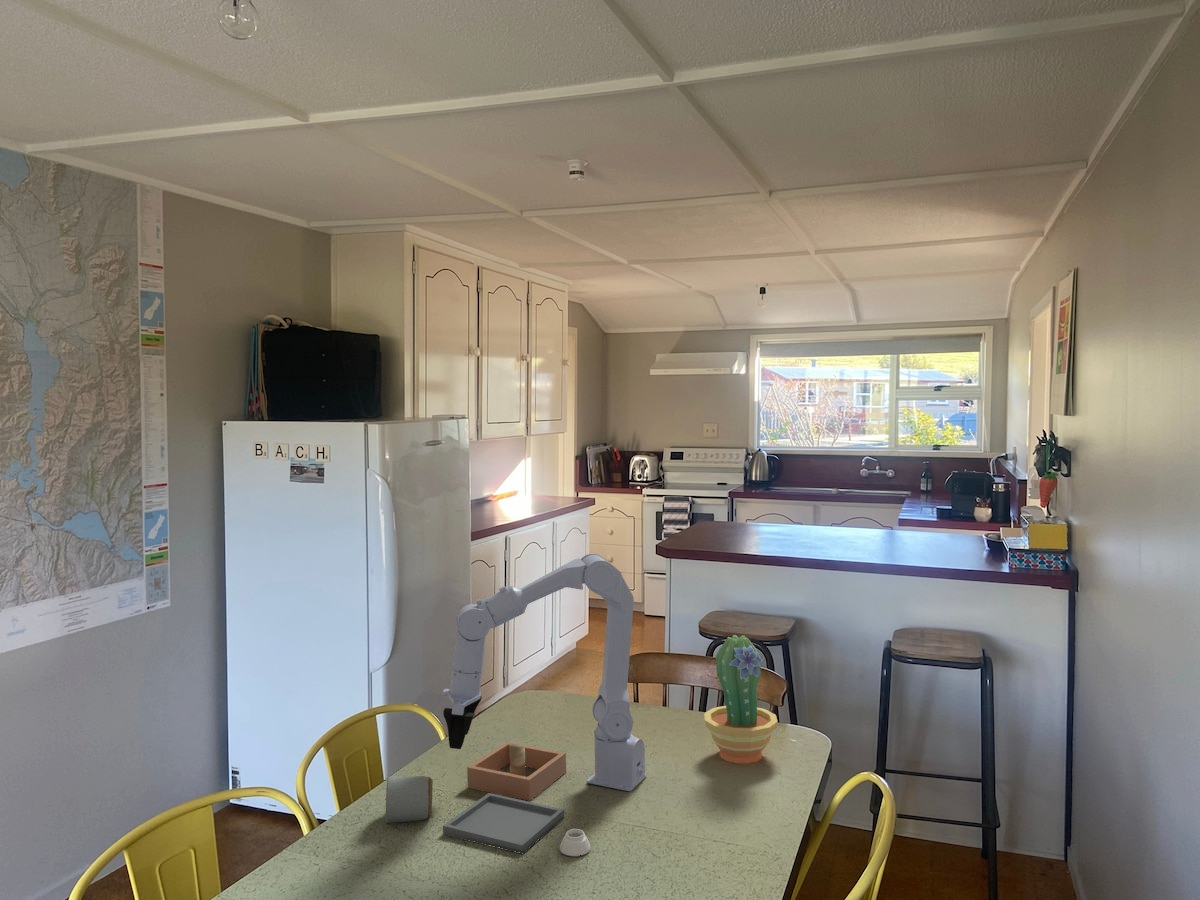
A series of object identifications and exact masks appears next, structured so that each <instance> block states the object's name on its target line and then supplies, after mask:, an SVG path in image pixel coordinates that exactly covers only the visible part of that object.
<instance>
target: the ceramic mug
mask: <svg viewBox="0 0 1200 900" xmlns="http://www.w3.org/2000/svg"><path fill="white" fill-rule="evenodd" d="M386 781H387V782H386V788H385V790H386V793H385V823H386V824H391V823H403V822H412V821H422V820H426V819H429V818H430V817H432V814H433V784H434V783H433V782H434V781H433V779H432V778H431V777H428V776H425V775H419V776H418V775H413V776H408V775H407V776H399V775H398V776H396V775H395V776H392V775H391V776H387V779H386Z"/></svg>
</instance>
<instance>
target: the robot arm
mask: <svg viewBox="0 0 1200 900" xmlns="http://www.w3.org/2000/svg"><path fill="white" fill-rule="evenodd" d="M583 585H585V586H586V587H587V589H589V591H590V592H591V593H594V594H596V595H598V596H599V597H601V598H602V599H603V600H604V601H605V602H606V604H607V608H606V609H607V611H606V624H605V625H606V626H605V638H604V647H603V648H604V649H603V650H604V651H603V662H602V663H603V665H602V676H601V677H602V678H601V683H600V684H599V685H600V686H599V688H598V694H597V697H596V699H595V701H594V703H593V706H592V710H591V711H592V716H593V717H594V720H595V721H596V722H597V725H596V728H595V729H594V732H593V733H594V737H593V738H594V739H593V740H594V741H593V742H594V774H593V775H591V776H590V777H589V778H588V779H587V780H586V783H587V784H591V785H596V786H600V787H606V788H610V789H611V788H612V789H615V790H621V791H626V792H632V791H633V790H634V789H635V788H636V786H638V785H639V784H640V783H641V782H642V781H643V780H644V779H645V778H646V777H647V773H646V768H645V767H646V765H645V764H646V763H645V762H646V758H645V757H646V756H645V751H646V750H645V743H644V740H643V739H642V738H638V737H637V736H634V735H633V734H632V730H633V727H634V720H633V716H632V714H631V711H630V705H631V704H630V702H631V701H630V698H629V697H630V696H629V691H628V682H629V681H628V680H629V667H630V654H631V644H632V643H631V642H632V641H631V640H632V631H633V630H632V628H633V617H634V616H633V615H634V603H635V600H634V599H635V598H634V595H633V593H632V591H631V589H630V587H629V586H628V584H627V583H626V581H625V579H624V577H623V574H622V572H621V571H620V570H619V569H618V568H617V567H615V566H614V565H613V564H612V563H611V562H609V561H608V560H607V559H606V558H605V557H603V556H602V555H600V554H597V553H588V554H585V555H583V556H582V557H581V558H580V557H578V558H576V559H573V560H570V561H568V562H566V564H563V565H562V566H559V567H558V568H556V569H554V570H552V571H550V572H548V573H547V574H544V575H543V576H540V577H539V578H538V579H535V580H534V581H532V582H530V583H528V584H526V585H525V586H523V587H516V586H513V585H510V586H508V587H506V586H505V585H503V586H501V587H499V588H498V590H499V591H498V592H496V593H494V594H492V595H490V596H487V597H486V598H484V599H482V598H479V599H476V600H475V603H474V604H473V603H471V604H469V603H468V604H466V605H464V606H463V607H462V608H461V609H460V611H459V612H458V614H457V616H456V618H455V621H456V624H457V628H458V630H457V633H456V636H455V641H456V642H455V643H454V651H453V655H452V657H453V658H452V667H451V674H450V683H449V688H444V689H443V690H442V695H443V696H447V697H448V698H449V700H450V702H451V704H452V707H451V708H450V707H444V708H443V712H442V713H443V718H444V720H445V723H446V727H447V735H448V745H449V748H450V749H456V750H461V749H462V747H463V745H464V742H465V738H466V735H468V733H469V731H470V728H471V725H472V721H473V718H474V717H475V714H476V713H475V712H476V709H477V707H478V705H479V704H480V702H481V701H482V699H483V697H482V695H481V694H482V693H481V687H482V686H481V685H482V678H483V670H484V661H485V660H484V659H485V653H486V645H485V641H486V636H487V635H488V634H489V631H490V629H495V628H497V627H499V626H501V625H504V624H505V623H507V622H510V621H511V620H513V619H515V618H518V617H519V616H522V615H523V614H525V613H526V609H527V607H528V606H529V604H531V603H533V602H536V601H538V600H540V599H542V598H545V597H547V596H549V595H551V594H553V593H556V592H558V591H561V590H563V589H565V588H568V589H574V590H575V589H576V590H584V586H583Z"/></svg>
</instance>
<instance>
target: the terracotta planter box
mask: <svg viewBox="0 0 1200 900" xmlns="http://www.w3.org/2000/svg"><path fill="white" fill-rule="evenodd" d="M511 743H512V742H508V741H506V742H504V743H503V744H501V745H499V746H498V747H497V748H495V749H493V750H492V751H490V752H489V753H487V754H486V755H484V756H482V757H481V758H479V759H478V760H476V761H475V762H472V763H471V764H470V765H469V766H468V765H467V769H466V775H467V777H466V778H467V779H466V780H467V788H468V787H469V788H468V789H471V788H473V789H472V790H476V789H477V791H480V790H482V792H485V791H486V793H489V792H491V793H492V794H496V795H501V796H503V795H505V797H510V798H512V797H513V798H514V799H517V798H518V799H519V800H522V799H523V800H524V801H526V800H527V801H528V802H532V801H533V799H535V798H536V797H537V796H538V795H540V794H541V793H542V792H543V790H544V791H546V790H547V788H549V787H550V786H552V785H553V782H554V781H555V782H556V781H557V779H558V778H559V779H561V777H563V776H564V775H565V774H567V753H566V752H562V751H557V750H553V749H552V750H551V749H546V748H543V747H542V748H540V747H535V746H530V745H525V766H526V767H525V768H528V767H530V768H529V769H533V768H536V769H535V771H534V772H533V773H531V774H530V775H528V776H526V775H525V776H520V775H515V774H510V772H505V771H501V768H502V767H503V768H505V767H506V766H507V765H509V764H508V763H510V746H509V745H510V744H511ZM505 765H506V766H505ZM503 768H502V769H503ZM499 769H500V770H499ZM498 770H499V771H498ZM563 774H564V775H563ZM562 775H563V776H562ZM560 776H561V777H560ZM559 779H558V780H559ZM555 782H554V783H555ZM548 786H549V787H548ZM534 797H535V798H534Z"/></svg>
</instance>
